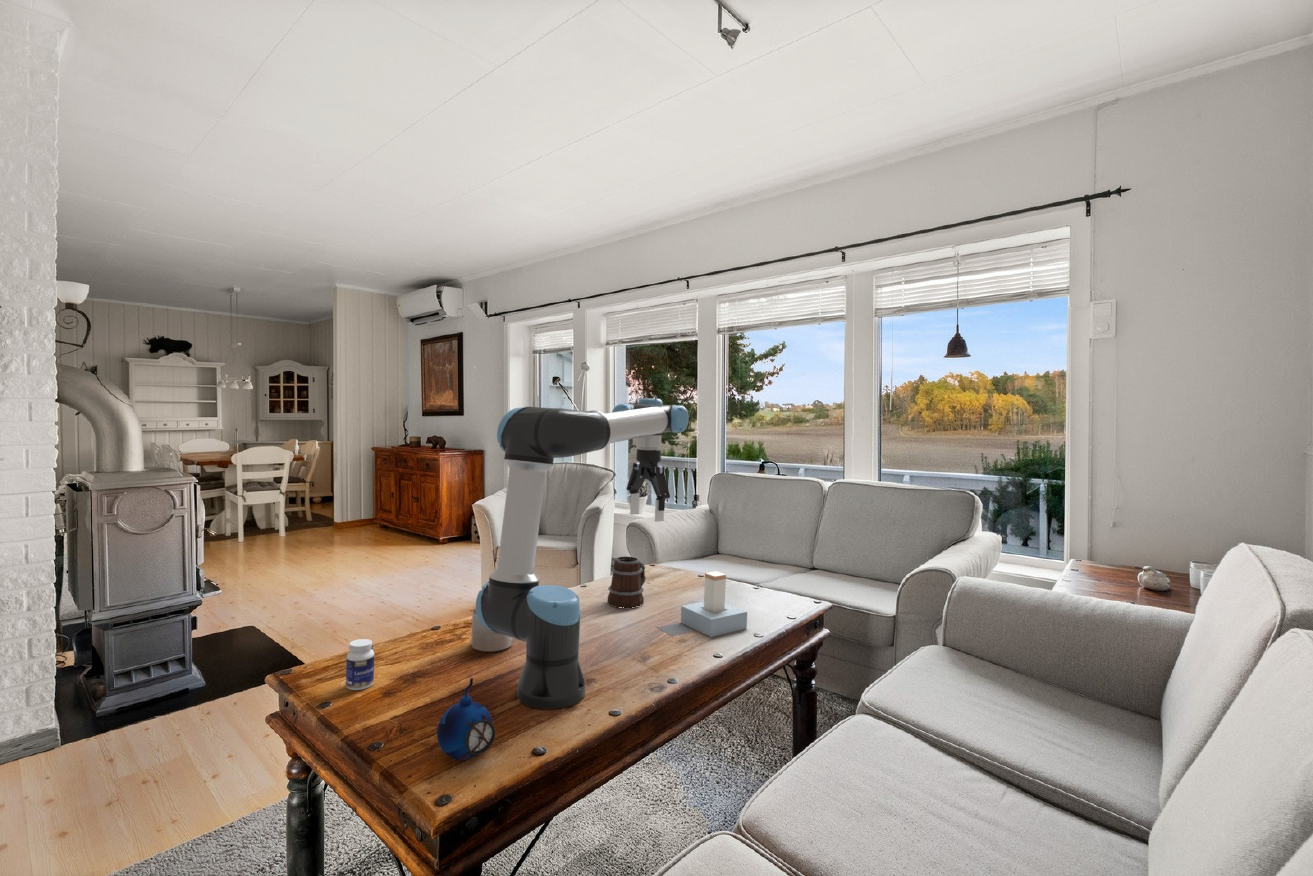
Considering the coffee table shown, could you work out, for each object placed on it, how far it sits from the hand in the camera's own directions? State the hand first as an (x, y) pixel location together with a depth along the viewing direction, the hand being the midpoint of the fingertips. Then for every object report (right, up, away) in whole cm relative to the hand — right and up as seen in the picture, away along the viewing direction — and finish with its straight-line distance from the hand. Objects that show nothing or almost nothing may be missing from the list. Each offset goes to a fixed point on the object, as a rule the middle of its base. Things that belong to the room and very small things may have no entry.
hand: (646, 517), depth 190 cm
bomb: (-32, -34, -77) cm, 90 cm away
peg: (+20, -30, -5) cm, 37 cm away
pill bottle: (-64, -32, -50) cm, 87 cm away
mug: (-6, -31, +18) cm, 36 cm away
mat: (+9, -32, -9) cm, 35 cm away
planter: (-41, -32, -24) cm, 57 cm away
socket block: (+20, -33, -5) cm, 39 cm away
